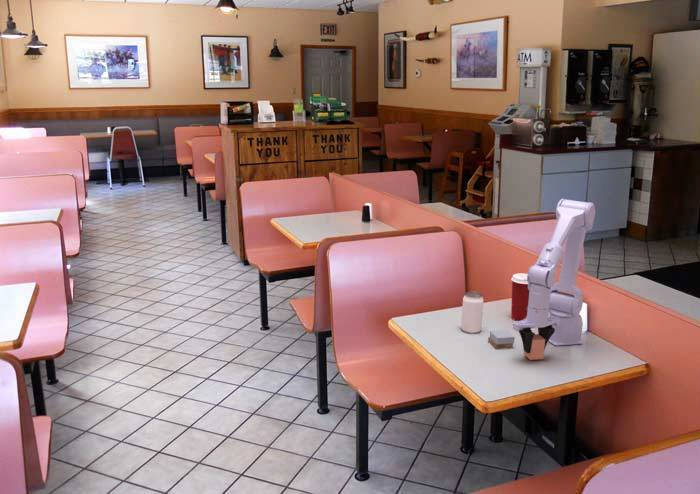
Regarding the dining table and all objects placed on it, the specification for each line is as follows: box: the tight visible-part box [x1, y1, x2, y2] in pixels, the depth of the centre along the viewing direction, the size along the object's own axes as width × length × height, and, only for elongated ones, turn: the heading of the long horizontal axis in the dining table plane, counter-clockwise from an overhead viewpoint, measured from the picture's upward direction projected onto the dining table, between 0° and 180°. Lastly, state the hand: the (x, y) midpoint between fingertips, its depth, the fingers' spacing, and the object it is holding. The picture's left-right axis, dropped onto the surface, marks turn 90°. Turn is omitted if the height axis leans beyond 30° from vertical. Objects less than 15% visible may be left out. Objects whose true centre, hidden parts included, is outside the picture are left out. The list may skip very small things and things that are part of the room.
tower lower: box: [487, 336, 514, 350], centre depth 193 cm, size 6×6×2 cm
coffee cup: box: [510, 272, 530, 322], centre depth 214 cm, size 8×8×15 cm
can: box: [460, 291, 484, 334], centre depth 203 cm, size 6×6×12 cm
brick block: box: [523, 333, 545, 361], centre depth 183 cm, size 4×4×6 cm
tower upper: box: [489, 329, 516, 344], centre depth 193 cm, size 6×6×2 cm
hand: (533, 350), depth 184 cm, fingers closed on brick block, 4 cm apart
